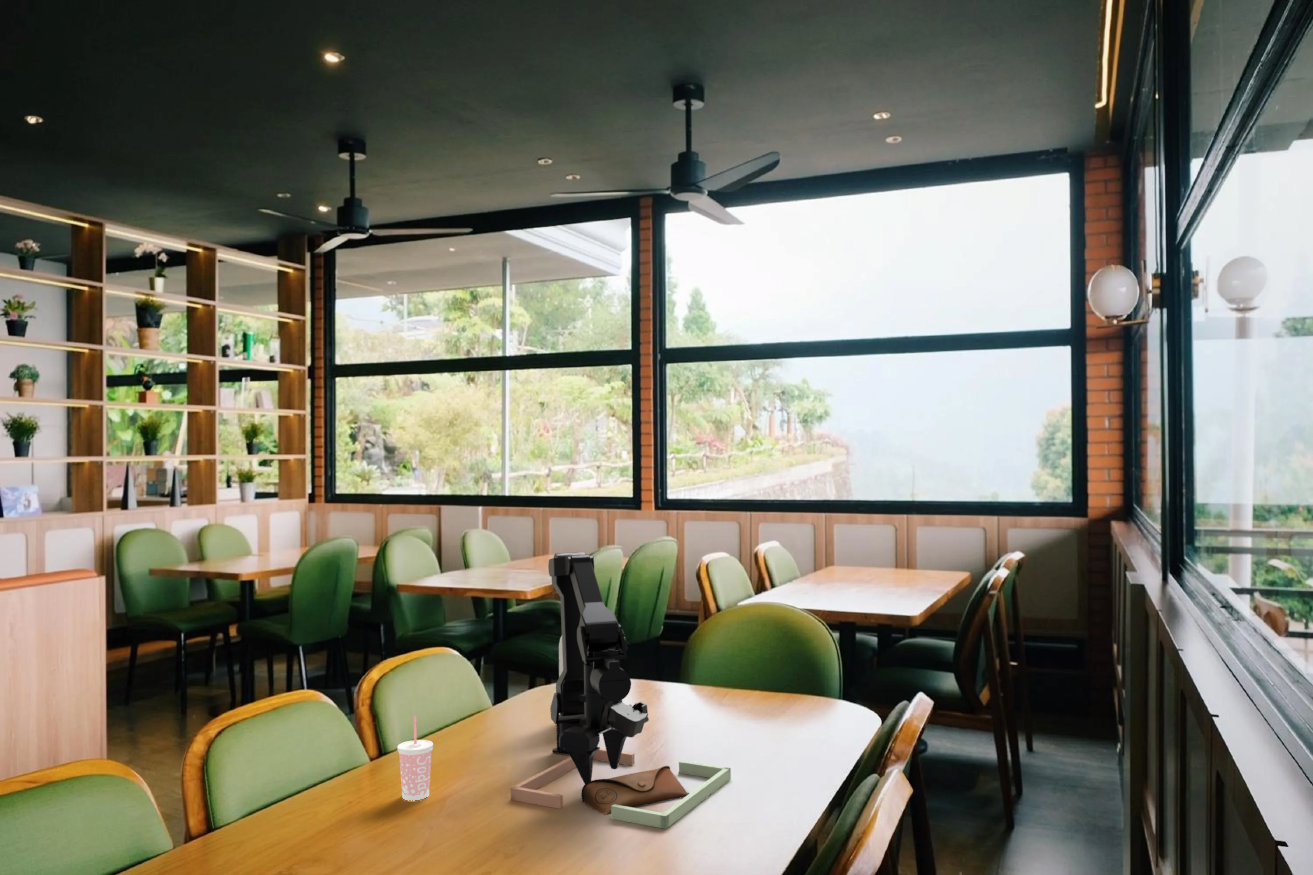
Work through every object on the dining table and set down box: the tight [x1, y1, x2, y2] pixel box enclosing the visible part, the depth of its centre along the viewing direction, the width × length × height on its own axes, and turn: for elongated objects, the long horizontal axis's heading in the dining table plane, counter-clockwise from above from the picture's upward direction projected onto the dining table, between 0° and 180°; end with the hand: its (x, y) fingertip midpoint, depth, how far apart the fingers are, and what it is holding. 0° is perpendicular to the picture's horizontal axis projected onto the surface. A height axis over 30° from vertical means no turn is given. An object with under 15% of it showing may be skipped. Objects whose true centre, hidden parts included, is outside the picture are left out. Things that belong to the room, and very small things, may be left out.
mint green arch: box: [610, 760, 732, 830], centre depth 164 cm, size 10×26×2 cm, turn 152°
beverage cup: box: [397, 715, 434, 802], centre depth 167 cm, size 6×6×14 cm
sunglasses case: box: [580, 765, 690, 816], centre depth 165 cm, size 18×7×7 cm
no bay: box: [510, 747, 636, 810], centre depth 174 cm, size 10×26×2 cm, turn 153°
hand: (601, 776), depth 171 cm, fingers open, 9 cm apart
